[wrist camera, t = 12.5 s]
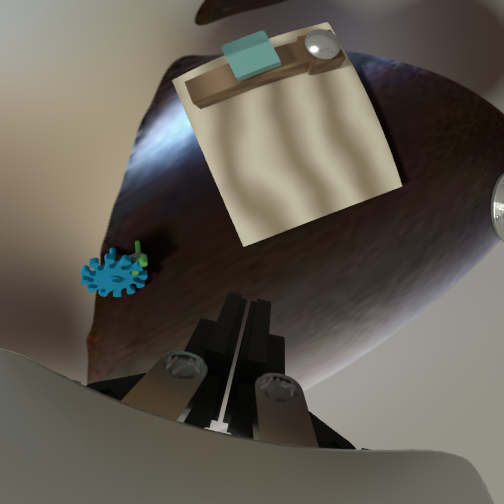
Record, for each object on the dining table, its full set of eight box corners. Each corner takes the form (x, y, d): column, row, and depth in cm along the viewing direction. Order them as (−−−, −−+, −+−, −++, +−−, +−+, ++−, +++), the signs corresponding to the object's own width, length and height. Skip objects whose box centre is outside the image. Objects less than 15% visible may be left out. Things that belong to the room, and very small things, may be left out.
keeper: (266, 50, 30) (263, 30, 24) (280, 78, 31) (280, 61, 25) (229, 64, 31) (220, 46, 25) (242, 92, 32) (236, 78, 26)
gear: (108, 306, 41) (65, 280, 33) (107, 275, 45) (68, 245, 36) (166, 283, 41) (128, 249, 32) (162, 251, 44) (127, 214, 36)
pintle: (324, 42, 29) (330, 25, 24) (338, 67, 30) (347, 53, 25) (296, 50, 29) (298, 33, 25) (309, 76, 30) (314, 62, 25)
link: (326, 40, 28) (330, 29, 25) (339, 67, 29) (345, 58, 26) (191, 85, 31) (182, 77, 28) (202, 113, 32) (194, 107, 29)
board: (326, 27, 29) (327, 22, 28) (397, 185, 34) (402, 186, 33) (175, 83, 33) (172, 80, 32) (245, 243, 38) (243, 246, 37)
